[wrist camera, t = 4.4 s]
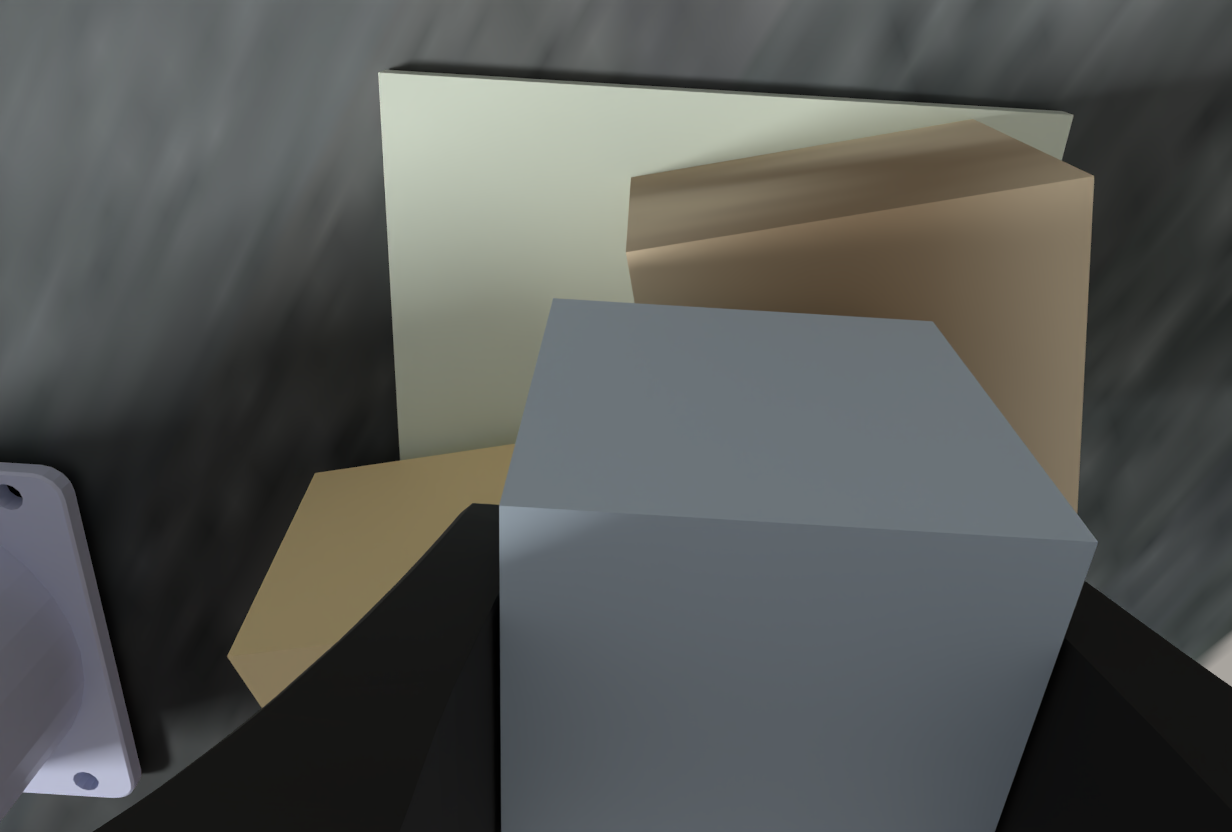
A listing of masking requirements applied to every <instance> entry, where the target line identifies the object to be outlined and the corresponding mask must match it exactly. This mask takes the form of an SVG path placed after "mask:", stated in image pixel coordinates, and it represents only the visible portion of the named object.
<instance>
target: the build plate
mask: <svg viewBox="0 0 1232 832" xmlns="http://www.w3.org/2000/svg"><path fill="white" fill-rule="evenodd" d="M378 75H379V93H380V110H381V128H382V146H383V164H384V182H385V200H386V218H387V236H388V254H389V272H390V290H391V307H392V325H393V343H394V361H395V379H396V397H397V415H398V433H399V451H400V460H407V459H414V458H421V457H427V456H434V455H441V454H448V453H455V452H461V451H468V450H475V449H482V448H489V447H496V446H502V445H509V444H515V443H516V439H517V435H518V431H519V428H520V424H521V420H522V416H523V412H524V408H525V405H526V401H527V397H528V393H529V389H530V385H531V382H532V378H533V374H534V370H535V366H536V362H537V359H538V355H539V351H540V347H541V343H542V339H543V336H544V332H545V328H546V324H547V320H548V316H549V312H550V309H551V305H552V301H553V298H557V299H574V300H590V301H607V302H623V303H635V302H634V297H633V291H632V285H631V279H630V274H629V268H628V262H627V256H626V242H627V227H628V213H629V198H630V184H631V177H636V176H642V175H648V174H654V173H660V172H665V171H671V170H677V169H683V168H689V167H695V166H700V165H706V164H712V163H718V162H724V161H730V160H736V159H741V158H747V157H753V156H759V155H765V154H771V153H777V152H782V151H788V150H794V149H800V148H806V147H812V146H817V145H823V144H829V143H835V142H841V141H847V140H853V139H858V138H864V137H870V136H876V135H882V134H888V133H894V132H899V131H905V130H911V129H917V128H923V127H929V126H934V125H940V124H946V123H952V122H958V121H964V120H970V119H974V120H976V121H978V122H981V123H983V124H985V125H987V126H989V127H991V128H993V129H995V130H998V131H1000V132H1002V133H1004V134H1006V135H1008V136H1010V137H1012V138H1015V139H1017V140H1019V141H1021V142H1023V143H1025V144H1027V145H1029V146H1032V147H1034V148H1036V149H1038V150H1040V151H1042V152H1044V153H1046V154H1049V155H1051V156H1053V157H1055V158H1057V159H1059V160H1061V161H1062V158H1063V154H1064V150H1065V146H1066V142H1067V139H1068V135H1069V131H1070V127H1071V123H1072V120H1073V116H1074V115H1072V114H1069V113H1067V112H1064V111H1054V110H1037V109H1021V108H1004V107H988V106H972V105H955V104H939V103H923V102H906V101H890V100H873V99H857V98H841V97H824V96H808V95H791V94H775V93H759V92H742V91H726V90H710V89H693V88H677V87H660V86H644V85H628V84H611V83H595V82H579V81H562V80H546V79H529V78H513V77H497V76H480V75H464V74H448V73H431V72H415V71H398V70H383V71H381V72H379V73H378Z"/></svg>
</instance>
